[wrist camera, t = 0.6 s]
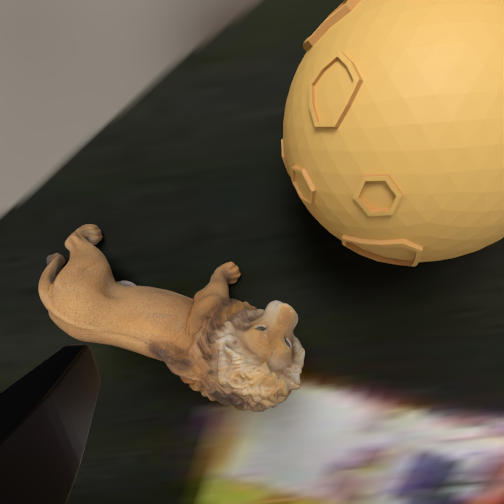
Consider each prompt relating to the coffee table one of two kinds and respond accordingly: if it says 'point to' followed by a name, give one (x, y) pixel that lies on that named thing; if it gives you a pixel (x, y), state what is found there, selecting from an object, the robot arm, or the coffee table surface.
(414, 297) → the coffee table surface
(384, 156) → the stress ball
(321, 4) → the coffee table surface
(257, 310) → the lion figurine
